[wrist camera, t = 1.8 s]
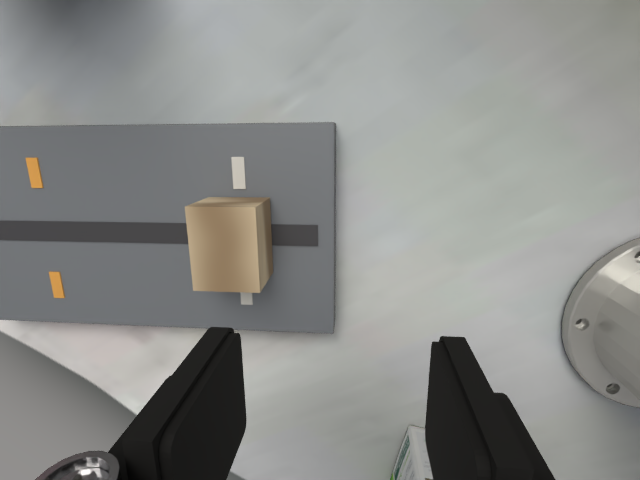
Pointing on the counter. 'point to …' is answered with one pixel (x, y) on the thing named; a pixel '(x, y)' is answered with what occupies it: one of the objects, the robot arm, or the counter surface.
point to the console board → (162, 223)
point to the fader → (230, 243)
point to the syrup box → (413, 457)
